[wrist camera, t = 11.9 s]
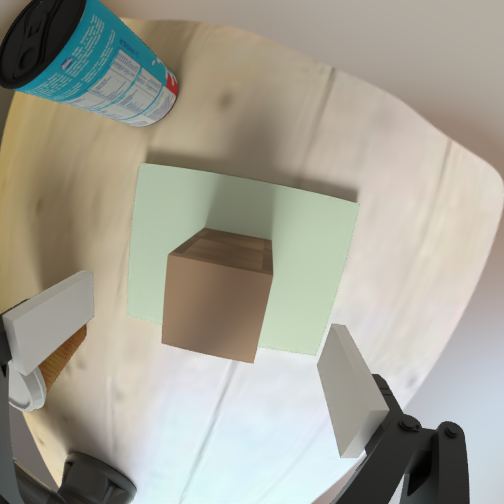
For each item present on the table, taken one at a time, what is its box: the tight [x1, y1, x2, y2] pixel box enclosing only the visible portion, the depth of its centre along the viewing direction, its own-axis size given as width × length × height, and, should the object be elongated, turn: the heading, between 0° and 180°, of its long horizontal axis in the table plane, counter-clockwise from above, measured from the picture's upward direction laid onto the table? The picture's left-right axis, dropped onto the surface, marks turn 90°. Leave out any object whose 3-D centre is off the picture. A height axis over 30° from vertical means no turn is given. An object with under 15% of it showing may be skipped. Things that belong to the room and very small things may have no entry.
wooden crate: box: [162, 228, 274, 363], centre depth 19 cm, size 5×5×9 cm
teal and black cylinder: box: [0, 0, 178, 127], centre depth 14 cm, size 6×6×15 cm
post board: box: [127, 163, 360, 356], centre depth 21 cm, size 18×14×7 cm
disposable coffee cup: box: [8, 324, 86, 412], centre depth 21 cm, size 10×10×12 cm
